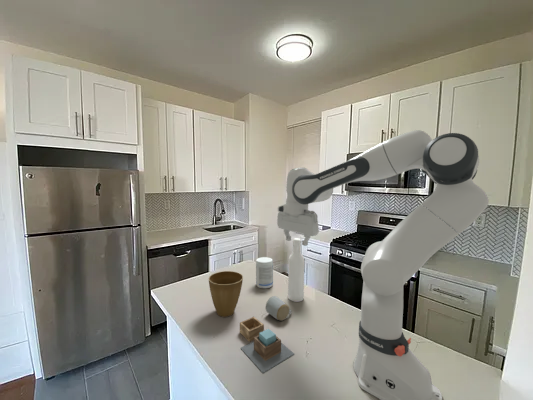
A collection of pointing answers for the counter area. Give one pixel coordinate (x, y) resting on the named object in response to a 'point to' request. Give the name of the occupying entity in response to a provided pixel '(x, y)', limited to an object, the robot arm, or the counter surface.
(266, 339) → the light blue block
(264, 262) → the supplement tub
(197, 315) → the counter surface
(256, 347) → the brown wooden square tray
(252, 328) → the light wooden open box
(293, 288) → the bottle
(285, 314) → the ceramic mug
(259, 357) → the slate mat
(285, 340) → the counter surface
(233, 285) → the plant pot
